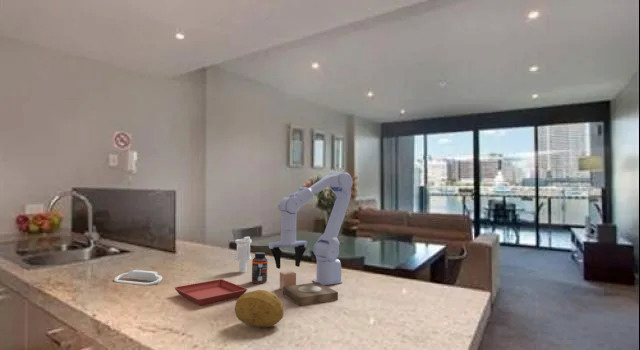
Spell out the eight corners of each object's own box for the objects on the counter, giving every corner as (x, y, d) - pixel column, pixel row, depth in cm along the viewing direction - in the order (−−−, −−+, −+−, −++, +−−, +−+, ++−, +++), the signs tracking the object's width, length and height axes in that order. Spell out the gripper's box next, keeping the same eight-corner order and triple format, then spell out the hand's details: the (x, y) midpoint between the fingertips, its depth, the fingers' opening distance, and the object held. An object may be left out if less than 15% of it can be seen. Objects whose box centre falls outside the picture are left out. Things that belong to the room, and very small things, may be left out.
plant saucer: (221, 287, 137) (221, 278, 137) (248, 298, 124) (248, 288, 124) (173, 297, 124) (173, 287, 125) (197, 310, 112) (198, 299, 112)
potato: (275, 298, 93) (286, 285, 102) (227, 297, 96) (242, 284, 105) (277, 335, 93) (288, 318, 102) (229, 332, 96) (244, 316, 105)
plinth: (318, 289, 135) (318, 281, 135) (337, 299, 123) (337, 291, 123) (282, 293, 128) (282, 286, 128) (299, 305, 116) (300, 296, 116)
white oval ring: (110, 286, 142) (108, 277, 141) (126, 276, 150) (125, 267, 149) (153, 290, 136) (151, 281, 136) (167, 280, 144) (166, 271, 143)
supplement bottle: (264, 284, 140) (264, 254, 141) (249, 283, 142) (249, 253, 142) (269, 280, 146) (269, 251, 147) (255, 279, 147) (255, 251, 148)
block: (290, 286, 138) (291, 270, 138) (295, 289, 134) (296, 273, 134) (279, 288, 135) (279, 271, 136) (284, 291, 131) (284, 274, 132)
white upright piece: (254, 271, 161) (255, 237, 162) (243, 274, 155) (243, 239, 156) (242, 269, 165) (243, 235, 166) (231, 272, 159) (231, 237, 160)
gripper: (274, 232, 128) (273, 271, 128) (311, 230, 135) (310, 267, 135) (267, 229, 134) (266, 267, 134) (302, 228, 141) (302, 263, 141)
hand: (287, 267), depth 135 cm, fingers open, 7 cm apart
